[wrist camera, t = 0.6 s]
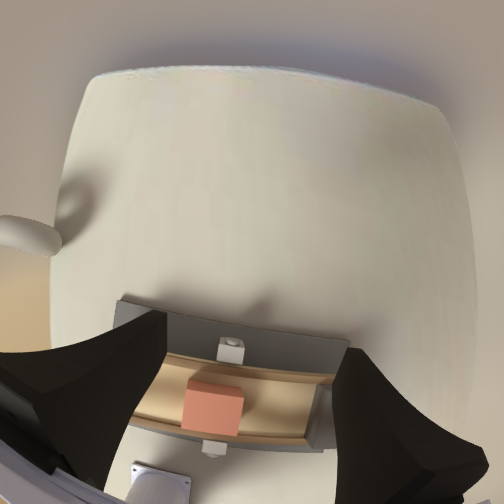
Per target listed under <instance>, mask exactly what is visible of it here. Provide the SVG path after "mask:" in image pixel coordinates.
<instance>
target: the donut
mask: <svg viewBox="0 0 504 504" xmlns="http://www.w3.org/2000/svg"><path fill="white" fill-rule="evenodd" d="M0 245H1V246H4V247H7V248H10V249H14V250H18V251H22V252H26V253H30V254H35V255H40V256H48V257H51V256H54V255H56V254H57V253H58V252H59V251H60V249H61V246H62V239H61V236H60V234H59V232H58V231H57V230H56V229H54V228H53V227H51V226H48V225H46V224H43V223H41V222H37V221H34V220H31V219H27V218H23V217H18V216H12V215H2V216H0Z"/></svg>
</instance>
